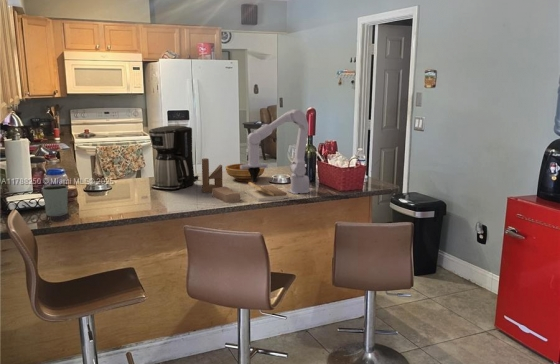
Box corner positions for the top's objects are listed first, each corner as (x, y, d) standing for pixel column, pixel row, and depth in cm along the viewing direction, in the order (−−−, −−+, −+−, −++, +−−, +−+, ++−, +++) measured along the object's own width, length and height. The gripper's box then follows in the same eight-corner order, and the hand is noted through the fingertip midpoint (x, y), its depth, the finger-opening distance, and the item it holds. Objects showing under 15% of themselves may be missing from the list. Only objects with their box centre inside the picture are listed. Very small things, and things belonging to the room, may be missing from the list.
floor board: (273, 190, 252) (273, 185, 251) (287, 198, 234) (288, 193, 233) (245, 192, 246) (245, 187, 245) (258, 201, 228) (258, 195, 227)
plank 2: (267, 192, 239) (268, 190, 239) (273, 195, 231) (274, 193, 231) (254, 187, 236) (254, 184, 236) (260, 190, 228) (260, 188, 228)
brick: (241, 201, 229) (241, 191, 228) (226, 203, 225) (226, 194, 224) (225, 194, 243) (225, 186, 242) (211, 196, 238) (211, 188, 237)
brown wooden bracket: (222, 191, 249) (222, 158, 246) (203, 192, 245) (202, 159, 241) (220, 189, 253) (220, 157, 249) (201, 191, 248) (200, 158, 245)
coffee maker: (146, 190, 250) (142, 128, 243) (164, 179, 281) (161, 123, 274) (187, 191, 248) (185, 129, 241) (201, 179, 280) (199, 124, 273)
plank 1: (260, 188, 248) (261, 186, 248) (266, 192, 240) (267, 190, 240) (248, 183, 244) (249, 181, 244) (253, 186, 236) (254, 184, 236)
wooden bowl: (218, 177, 288) (218, 164, 287) (253, 173, 299) (253, 161, 297) (235, 186, 262) (235, 172, 261) (273, 182, 273) (274, 169, 272)
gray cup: (39, 216, 200) (36, 189, 197) (54, 210, 210) (51, 184, 207) (60, 217, 198) (58, 190, 196) (74, 211, 208) (72, 185, 206)
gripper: (264, 154, 244) (264, 179, 247) (238, 155, 239) (238, 181, 241) (269, 156, 238) (269, 182, 241) (242, 157, 232) (242, 184, 235)
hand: (254, 181), depth 241 cm, fingers closed
